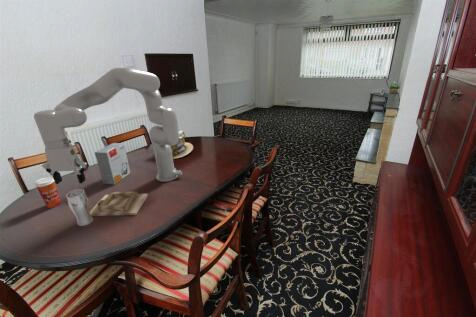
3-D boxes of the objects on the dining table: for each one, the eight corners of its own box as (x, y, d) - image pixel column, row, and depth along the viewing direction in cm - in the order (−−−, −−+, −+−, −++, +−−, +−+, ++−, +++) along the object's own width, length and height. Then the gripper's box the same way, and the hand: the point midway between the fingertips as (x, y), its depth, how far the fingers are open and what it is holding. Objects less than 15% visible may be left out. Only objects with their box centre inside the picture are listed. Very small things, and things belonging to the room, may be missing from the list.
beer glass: (81, 217, 108) (71, 189, 102) (97, 216, 109) (87, 188, 103) (73, 227, 102) (61, 198, 96) (89, 226, 103) (79, 197, 96)
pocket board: (147, 195, 124) (146, 189, 122) (135, 214, 109) (134, 208, 108) (105, 196, 124) (104, 190, 122) (88, 216, 109) (86, 209, 108)
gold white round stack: (173, 162, 161) (169, 139, 154) (153, 153, 176) (148, 132, 169) (200, 151, 178) (198, 129, 171) (179, 144, 193) (177, 124, 186)
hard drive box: (114, 185, 134) (105, 153, 126) (103, 184, 136) (93, 152, 127) (131, 172, 148) (124, 143, 140) (120, 171, 150) (112, 142, 141)
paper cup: (48, 211, 113) (37, 186, 108) (41, 206, 117) (30, 181, 111) (66, 202, 119) (57, 178, 114) (59, 198, 123) (49, 174, 117)
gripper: (85, 139, 93) (96, 177, 100) (41, 140, 94) (56, 178, 101) (73, 146, 87) (86, 186, 94) (26, 147, 87) (43, 187, 94)
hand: (71, 182), depth 97 cm, fingers open, 9 cm apart
